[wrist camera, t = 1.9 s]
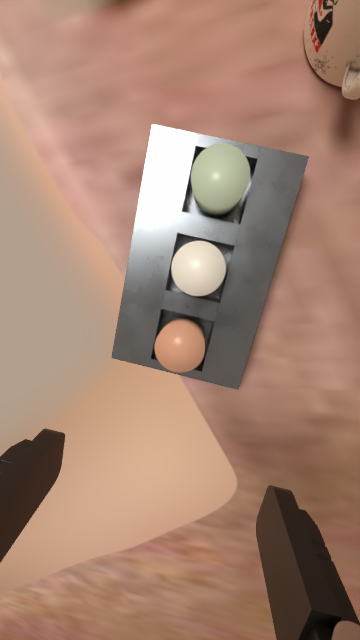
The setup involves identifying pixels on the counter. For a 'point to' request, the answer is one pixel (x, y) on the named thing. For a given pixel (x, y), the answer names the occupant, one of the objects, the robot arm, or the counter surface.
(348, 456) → the counter surface
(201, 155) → the sage button
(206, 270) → the ivory button
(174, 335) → the orange rounded piece
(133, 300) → the panel
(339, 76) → the teacup with lid
